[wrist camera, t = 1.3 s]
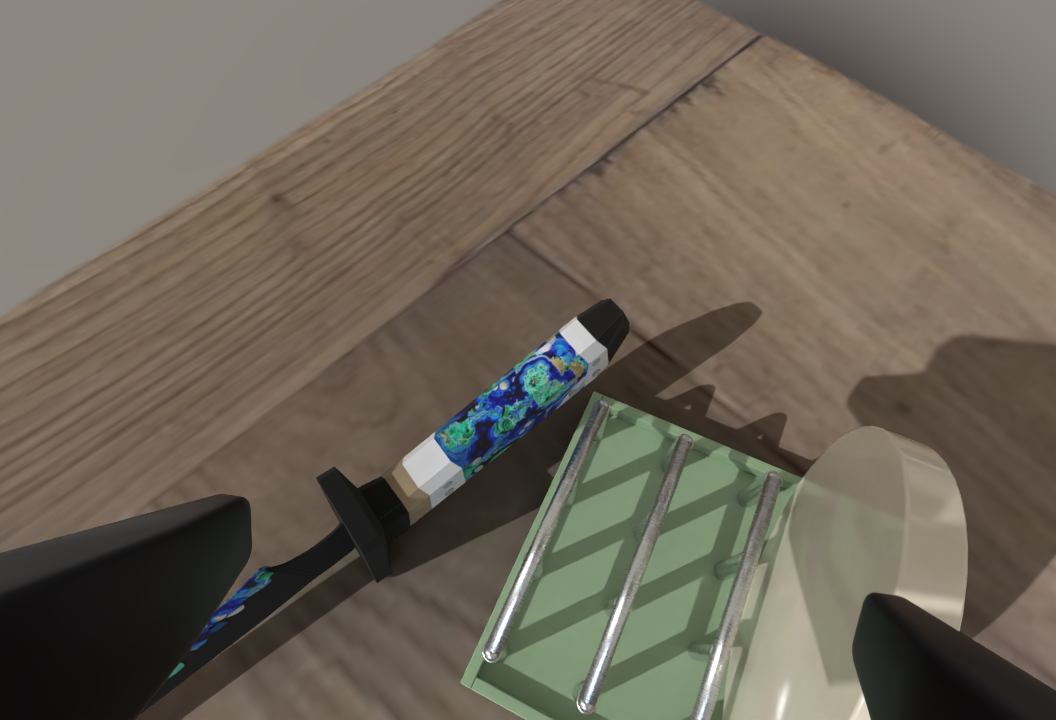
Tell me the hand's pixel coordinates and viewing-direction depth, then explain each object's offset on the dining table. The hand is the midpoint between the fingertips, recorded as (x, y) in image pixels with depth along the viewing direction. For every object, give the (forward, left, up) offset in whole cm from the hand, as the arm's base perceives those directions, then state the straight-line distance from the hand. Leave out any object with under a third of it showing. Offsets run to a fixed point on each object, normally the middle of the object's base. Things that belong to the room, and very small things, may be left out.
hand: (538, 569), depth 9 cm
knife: (+7, +6, -14) cm, 17 cm away
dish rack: (-3, -3, -14) cm, 15 cm away
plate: (-5, -5, -13) cm, 15 cm away
